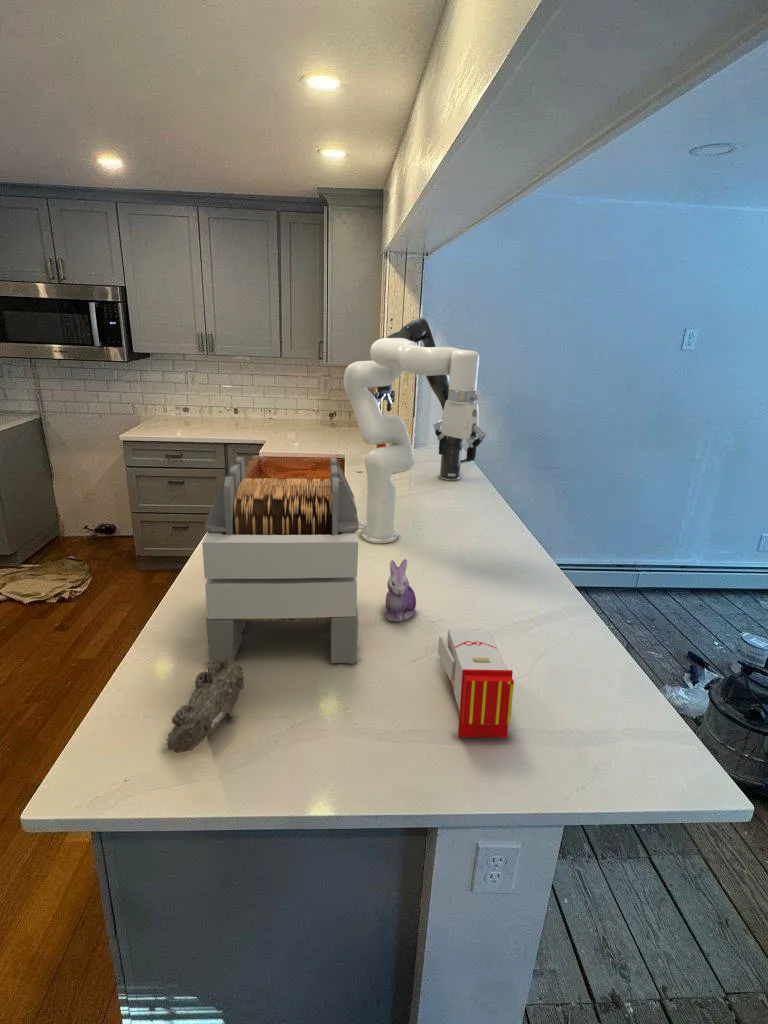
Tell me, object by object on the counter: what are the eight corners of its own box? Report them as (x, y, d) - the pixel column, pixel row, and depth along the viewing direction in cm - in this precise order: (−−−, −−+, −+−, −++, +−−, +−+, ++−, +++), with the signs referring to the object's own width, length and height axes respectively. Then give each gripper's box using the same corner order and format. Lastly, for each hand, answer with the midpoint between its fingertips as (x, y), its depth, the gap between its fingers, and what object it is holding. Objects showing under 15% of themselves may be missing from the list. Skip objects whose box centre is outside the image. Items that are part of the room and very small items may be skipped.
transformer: (229, 593, 154) (221, 446, 140) (350, 592, 157) (353, 448, 144) (206, 668, 122) (192, 488, 108) (358, 664, 126) (363, 489, 112)
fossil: (192, 660, 117) (244, 628, 112) (224, 691, 120) (276, 661, 115) (142, 746, 98) (202, 712, 93) (182, 779, 101) (242, 748, 96)
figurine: (392, 627, 141) (395, 572, 136) (374, 608, 149) (376, 556, 144) (425, 619, 145) (429, 566, 140) (405, 601, 154) (408, 550, 149)
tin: (381, 460, 294) (382, 437, 290) (374, 459, 297) (375, 436, 293) (387, 459, 298) (388, 436, 294) (379, 457, 301) (380, 434, 297)
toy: (488, 613, 130) (523, 677, 101) (484, 667, 133) (517, 744, 104) (435, 612, 130) (455, 676, 101) (432, 666, 133) (451, 743, 103)
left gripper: (495, 399, 153) (489, 461, 159) (444, 391, 164) (440, 449, 170) (480, 402, 148) (473, 465, 154) (428, 393, 159) (424, 453, 165)
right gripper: (380, 381, 276) (378, 414, 282) (399, 379, 286) (397, 411, 292) (369, 379, 281) (368, 412, 287) (388, 377, 291) (387, 409, 296)
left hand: (456, 457), depth 162 cm, fingers open, 9 cm apart
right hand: (383, 411), depth 289 cm, fingers open, 8 cm apart
